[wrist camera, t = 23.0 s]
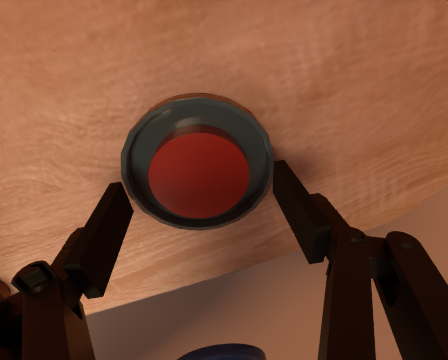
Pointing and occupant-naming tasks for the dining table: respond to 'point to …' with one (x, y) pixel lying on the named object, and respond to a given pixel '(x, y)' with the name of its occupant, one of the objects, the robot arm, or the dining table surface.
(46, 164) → the dining table surface
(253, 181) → the saucer
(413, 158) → the dining table surface
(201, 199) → the lid
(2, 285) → the jar
